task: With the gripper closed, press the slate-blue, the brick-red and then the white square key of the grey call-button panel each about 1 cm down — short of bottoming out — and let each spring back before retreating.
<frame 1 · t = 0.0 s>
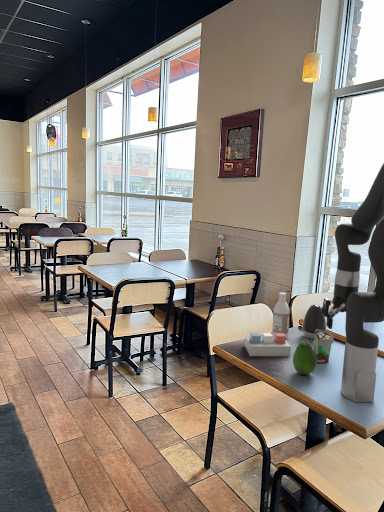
hand: (341, 328, 127), 17 cm above the table, tool pointing down, fingers open, 8 cm apart
red key: (279, 339, 149), point 5 cm above the table, slide at 0.0 cm
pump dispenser: (313, 337, 166), on the table
food container: (323, 360, 143), on the table
button panel: (266, 350, 149), on the table
bath foam: (279, 336, 166), on the table
white key: (267, 339, 149), point 5 cm above the table, slide at 0.0 cm
blue key: (255, 339, 148), point 5 cm above the table, slide at 0.0 cm
avocado: (303, 374, 130), on the table
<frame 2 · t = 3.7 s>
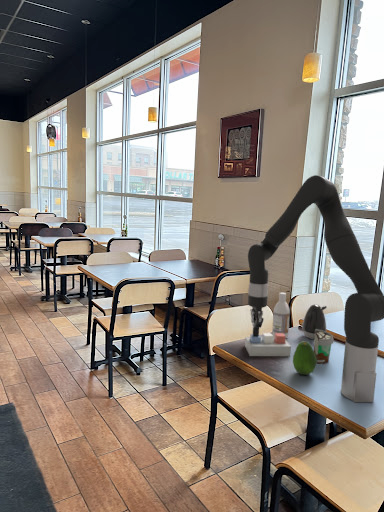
hand: (255, 335, 148), 6 cm above the table, tool pointing down, fingers closed
blue key: (255, 341, 148), point 4 cm above the table, slide at 0.6 cm, touching gripper
everything else where it was.
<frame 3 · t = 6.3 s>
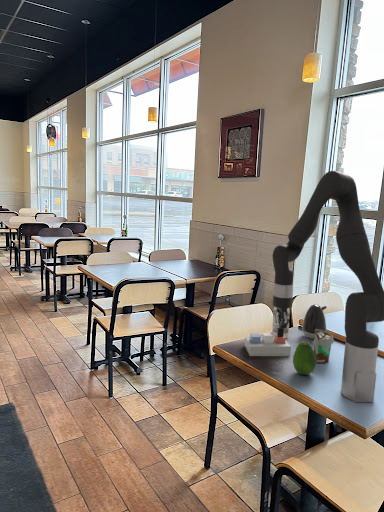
hand: (280, 336, 149), 6 cm above the table, tool pointing down, fingers closed
red key: (279, 341, 149), point 4 cm above the table, slide at 0.7 cm, touching gripper
blue key: (255, 340, 148), point 4 cm above the table, slide at 0.4 cm
everything else where it was.
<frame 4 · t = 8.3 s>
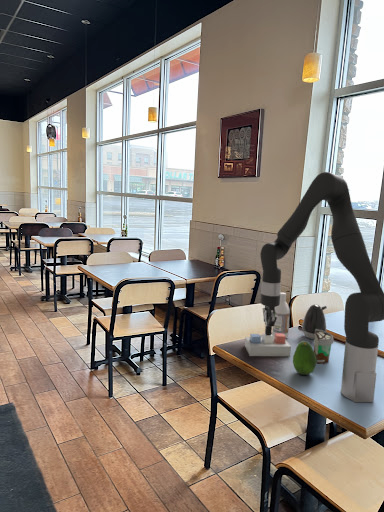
hand: (268, 334, 148), 7 cm above the table, tool pointing down, fingers closed
red key: (279, 340, 149), point 5 cm above the table, slide at 0.1 cm
white key: (267, 340, 149), point 5 cm above the table, slide at 0.1 cm, touching gripper
everything else where it was.
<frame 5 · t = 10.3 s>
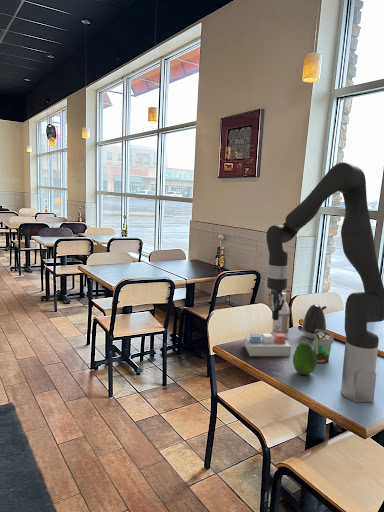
hand: (275, 319, 146), 14 cm above the table, tool pointing down, fingers closed
white key: (267, 340, 149), point 5 cm above the table, slide at 0.2 cm
everything else where it was.
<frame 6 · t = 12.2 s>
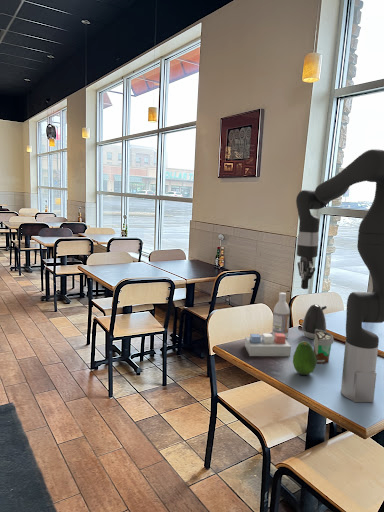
hand: (304, 288, 142), 27 cm above the table, tool pointing down, fingers closed
nothing on the table moved.
at the end: blue key slide at 0.4 cm; red key slide at 0.1 cm; white key slide at 0.2 cm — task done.
